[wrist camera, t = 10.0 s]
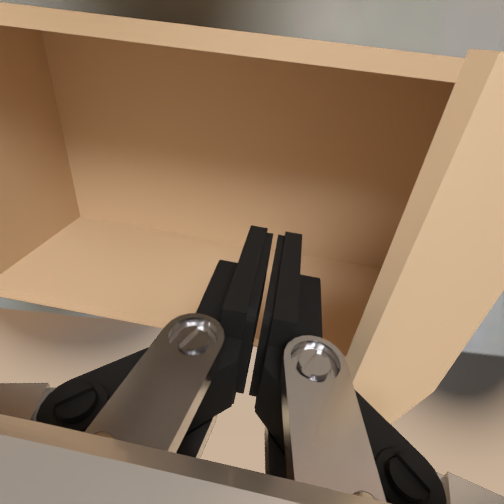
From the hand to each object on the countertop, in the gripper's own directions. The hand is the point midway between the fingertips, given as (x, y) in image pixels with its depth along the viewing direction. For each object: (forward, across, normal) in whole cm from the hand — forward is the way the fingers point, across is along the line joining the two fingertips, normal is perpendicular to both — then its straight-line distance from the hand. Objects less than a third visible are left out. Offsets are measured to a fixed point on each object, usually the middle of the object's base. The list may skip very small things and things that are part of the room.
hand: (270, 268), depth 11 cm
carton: (+11, +3, 0) cm, 12 cm away
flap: (0, -5, 0) cm, 5 cm away
